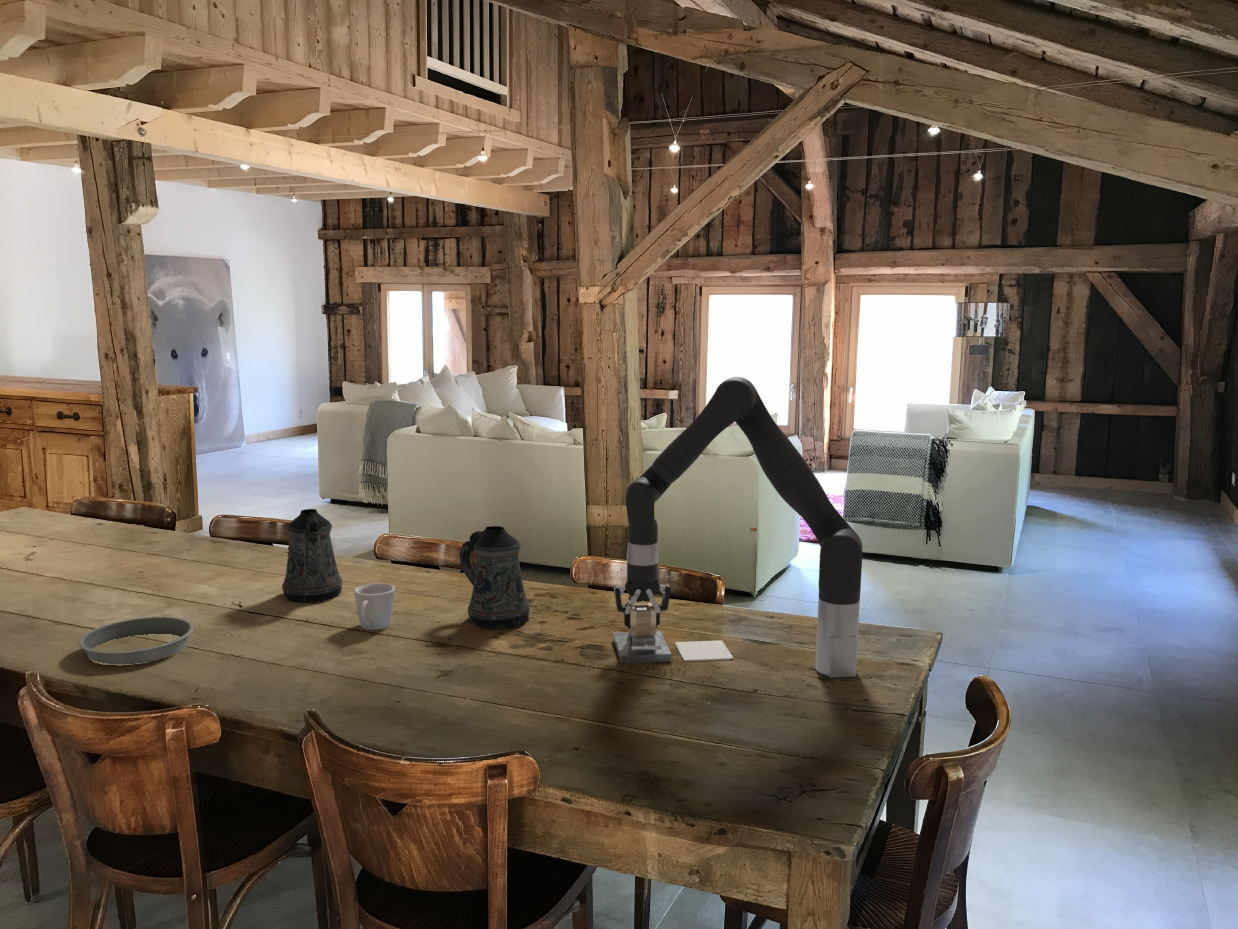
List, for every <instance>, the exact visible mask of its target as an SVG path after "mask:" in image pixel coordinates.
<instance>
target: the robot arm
mask: <svg viewBox="0 0 1238 929" xmlns="http://www.w3.org/2000/svg"><path fill="white" fill-rule="evenodd" d="M734 423H735V424H736V425H737V426H738V427H739V429H740V430H741V431H742V432H743V433H744V435H745V436H746V438H747V440H748V442H749V444H750V445H751V448H752V450H753V452H754V454H755V457H756V459H757V461H758V463H759V466H760V468H761V469H762V471H763V473H764V475H765V476H766V478H767V480H768V481H769V482H770V484H771V485H772V487H773V488H774V490H775V491H776V492H777V493H778V495H779V496H780V497H781V498H782V500H784V502H785V503H786V504H787V505H788V506H789V507H790V508H791V509H792V510H794V511H795V512H796V513H797V514H798V515H799V516H800V517H801V518H802V519H803V520H804V522H805V523H806V524H807V526H808V527H809V529H810V530H811V532H812V534H813V536H814V537H815V538H816V541H817V542H818V545H819V546H820V548H819V550H820V551H819V562H818V563H819V569H818V570H819V571H818V602H817V622H816V624H817V625H816V626H817V627H816V644H815V670H816V672H817V673H820V674H821V675H823V676H827V677H828V678H830V679H834V678H854V677H856V675H857V660H858V659H857V658H858V641H859V640H858V639H859V620H860V619H859V618H860V605H861V604H860V602H861V601H860V600H861V590H862V589H861V588H862V585H861V584H862V569H863V542H862V539H861V538H860V536H859V535H858V533H857V532H856V531H855V530H854V529H853V527H851V525H850V524H849V523H848V522H847V521H846V519H844V517H843V516H842V515H841V514H840V512H839V511H838V510H837V509H836V508H835V507H834V505H833V503H832V502H831V501H830V498H829V497H828V496H827V493H826V492H825V490H824V488H823V486H822V485H821V483H820V481H819V480H818V478H817V477H816V475H815V474H814V472H813V470H812V469H811V467H810V466H809V464H808V463H807V461H806V460H805V459H804V457H803V455H801V453H800V452H799V451H798V449H797V448H796V447H795V445H794V444H793V443H792V441H791V440H790V439H789V438H788V436H787V435H786V434H785V432H784V431H783V430H782V429H781V427H780V426H778V424H777V423H776V421H775V420H774V419H773V417H772V416H771V414H770V413H769V410H768V408H767V407H766V405H765V403H764V401H763V399H762V398H761V396H760V393H759V392H758V390H757V388H756V387H755V385H754V384H753V383H752V381H750V380H749V379H747V378H745V377H741V376H733V377H730V378H727V379H725V380H723V381H722V382H721V383H720V384H719V385H718V386H717V387H716V390H715V392H714V393H713V395H712V396H711V397H710V399H709V401H708V402H707V404H706V405H705V407H704V408H703V409H702V411H700V413H699V415H697V417H696V418H695V419H694V420H693V421H692V422H691V424H689V426H687V427H686V428H685V429H684V430H683V431H682V432H681V433H680V434H678V435H677V436H676V437H675V439H673V440H672V442H670V443H669V445H668V446H666V447H665V448H664V449H663V450H662V452H660V453H659V455H658V456H657V457H656V458H655V460H654V461H653V462H652V464H651V465H650V466H649V467H647V469H646V470H645V471H644V472H643V473H642V474H641V475H640V476H639V477H638V478H636V479H635V480H634V481H632V482H631V483H630V484H629V486H627V489H626V492H625V509H626V515H627V520H628V521H627V522H628V529H627V531H628V534H627V535H628V539H627V540H628V541H627V550H626V581H625V584H624V585H620V586H619V585H616V584H615V585H614V586H613V591H614V598H615V607H616V609H617V612H619V613H623V624H624V627H626V628H627V630H628V629H629V628H630V609H632V607H633V606H634V604H636V603H641V602H644V603H645V602H646V603H650V602H651V603H652V605H653V607H654V609H655V610H656V629H657V628H658V626H660V624H661V621H660V620H661V612H663V611H668V609H669V603H670V597H671V591H672V588H671V586H670V584H668V583H666V584H660V583H659V545H658V544H659V543H658V538H659V537H658V534H659V533H658V532H659V531H658V522H657V520H656V518H655V504H656V502H657V501H658V500H659V499H660V498H661V497H662V496H663V495H664V493H665V492H666V491H667V490H668V489H669V488H670V486H671V485H672V484H673V483H674V482H676V481H677V480H678V479H680V477H681V476H683V474H685V472H686V471H687V470H688V469H689V468H690V467H691V466H692V465H693V464H694V463H695V462H696V461H697V459H698V458H699V457H700V456H701V455H702V453H703V452H704V451H705V450H706V449H707V447H708V446H709V445H710V444H711V443H712V442H713V441H714V440H715V439H716V437H717V436H719V435H720V434H721V433H722V432H723V431H725V430H726V429H727V428H728V427H730V426H731V425H732V424H734ZM624 591H626V593H627V594H628V597H627V599H626V603H625V604H624V605H623V603H622V597H621V596H623V595H624ZM659 591H660V592H661V593H662V597H661V598H662V599H661V603H660V604H658V602H657V599H656V598H655V596H656V595H657V594H658V592H659Z"/></svg>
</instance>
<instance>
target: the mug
mask: <svg viewBox="0 0 1238 929" xmlns="http://www.w3.org/2000/svg"><path fill="white" fill-rule="evenodd" d="M353 594H354V598H355V604H356V608H357V613H358V618H359V619H358V620H359V622H360V623H359V624H360V627H361V628H362V629H364V630H367V631H379V630H380V631H381V630H383V629H387V628H389V627H390V626H391V624H392V620H393V619H392V618H393V611H394V610H393V609H394V602H395V594H396V587H395V585H393V584H390V583H389V584H388V583H381V582H379V583H377V582H375V583H367V584H362V585H359V586H357V587H356V588H354V590H353Z"/></svg>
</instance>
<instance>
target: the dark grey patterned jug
mask: <svg viewBox="0 0 1238 929" xmlns="http://www.w3.org/2000/svg"><path fill="white" fill-rule="evenodd" d="M332 529H333V524H332V523H331V522H330V521H329V520H328V519H326V518H325V517H324V516H323V515H322V514H320V513H319V512H318V511H317V509H316V508H315V509H314V508H307V509H302V510H300V513H299V515H298V516H297V517H295V518H294V519H293V520H291V521H290V522H289V523H288V525H287V526H286V532H287V534H288V537H289V541H288V548H287V549H288V550H287V551H288V552H287V560H286V561H287V562H286V572H285V577H284V580H283V583H282V585H281V588H282V592H283V595H284V596H285V597H284V598H285V600H286V601H288V600H289V602H291V601H292V603H297V602H299V603H300V604H307V603H313V602H314V603H319V601H321V602H325V601H324V600H326V601H330V600H333V599H335V598H337V597H339V596H340V595H341V594H342V589H343V579H342V577H341V575H340V573H339V569H338V566H337V562H336V558H335V553H334V548H333V543H332V537H331V531H332ZM340 593H341V594H340ZM334 597H335V598H334ZM329 599H330V600H329ZM299 603H298V604H299Z"/></svg>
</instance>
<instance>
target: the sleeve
mask: <svg viewBox="0 0 1238 929" xmlns="http://www.w3.org/2000/svg"><path fill="white" fill-rule="evenodd" d="M636 608H646V609H647V610H636ZM656 631H657V628H656V610H655V609H654V607H653V605H652V603H650V602H646V603H645V602H643V603H635V604H634V606H633V607H632V609H630V628H629V632H630V634H631V636H640V635H656Z"/></svg>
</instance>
